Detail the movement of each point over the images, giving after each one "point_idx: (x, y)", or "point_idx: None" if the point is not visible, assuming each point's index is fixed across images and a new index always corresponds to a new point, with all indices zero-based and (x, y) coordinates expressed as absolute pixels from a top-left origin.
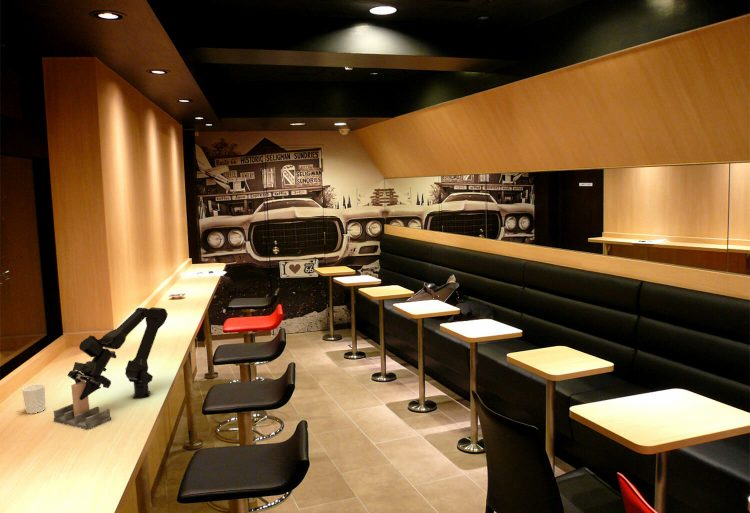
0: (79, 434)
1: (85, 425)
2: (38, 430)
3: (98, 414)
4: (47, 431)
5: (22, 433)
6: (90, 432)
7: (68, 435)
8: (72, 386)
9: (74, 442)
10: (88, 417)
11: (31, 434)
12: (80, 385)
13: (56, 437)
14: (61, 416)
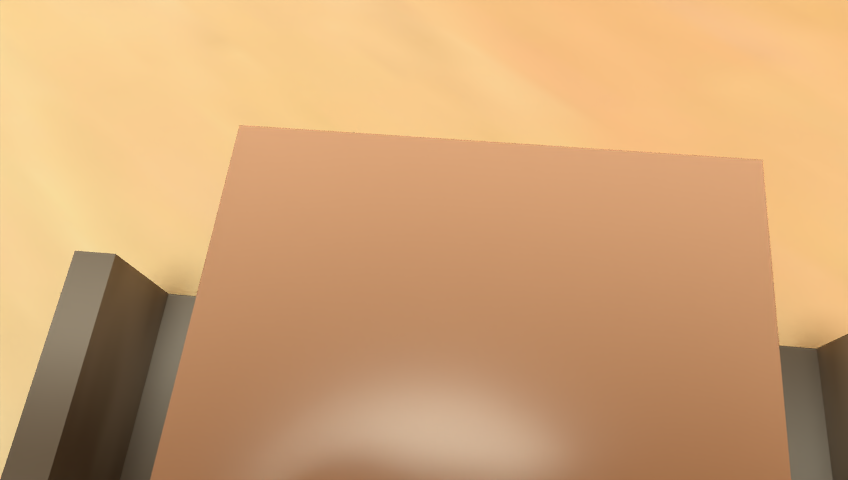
0: (163, 176)
1: (188, 308)
2: (734, 105)
3: (8, 478)
4: (603, 119)
5: (820, 4)
6: (68, 255)
7: (270, 122)
8: (622, 188)
9: (83, 35)
10: (84, 299)
11: (697, 18)
12: (191, 422)
13: (360, 52)
14: (831, 442)
